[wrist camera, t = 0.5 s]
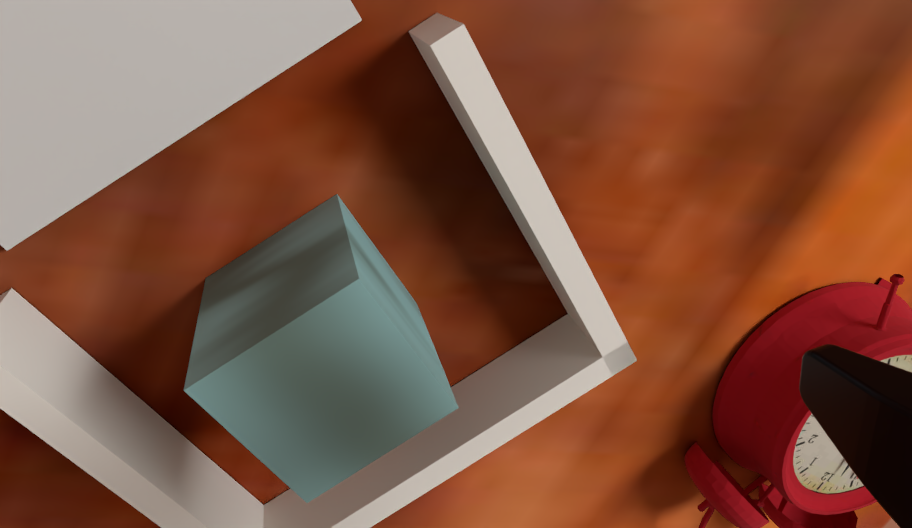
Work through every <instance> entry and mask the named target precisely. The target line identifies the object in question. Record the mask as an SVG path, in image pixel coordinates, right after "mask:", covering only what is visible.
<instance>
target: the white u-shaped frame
mask: <svg viewBox="0 0 912 528" xmlns="http://www.w3.org/2000/svg"><path fill="white" fill-rule="evenodd" d="M408 32H409V34H410V36H411V37H412V39H413V41H414V43H415V44H416V46H417V48H418V50H419V52H420V53H421V55H422V57H423V59H424V60H425V62H426V64H427V66H428V67H429V69H430V71H431V73H432V75H433V76H434V78H435V80H436V82H437V83H438V85H439V87H440V89H441V90H442V92H443V94H444V96H445V97H446V99H447V101H448V103H449V105H450V106H451V108H452V110H453V112H454V113H455V115H456V117H457V119H458V120H459V122H460V124H461V126H462V128H463V129H464V131H465V133H466V135H467V136H468V138H469V140H470V142H471V143H472V145H473V147H474V149H475V150H476V152H477V154H478V156H479V158H480V159H481V161H482V163H483V165H484V166H485V168H486V170H487V172H488V173H489V175H490V177H491V179H492V181H493V182H494V184H495V186H496V188H497V189H498V191H499V193H500V195H501V196H502V198H503V200H504V202H505V203H506V205H507V207H508V209H509V211H510V212H511V214H512V216H513V218H514V219H515V221H516V223H517V225H518V226H519V228H520V230H521V232H522V234H523V235H524V237H525V239H526V241H527V242H528V244H529V246H530V248H531V249H532V251H533V253H534V255H535V256H536V258H537V260H538V262H539V264H540V265H541V267H542V269H543V271H544V272H545V274H546V276H547V278H548V279H549V281H550V283H551V285H552V287H553V288H554V290H555V292H556V294H557V295H558V297H559V299H560V301H561V302H562V304H563V306H564V308H565V309H566V311H567V313H568V314H567V315H565V316H563V317H562V318H560V319H559V320H557V321H555V322H554V323H552V324H551V325H549V326H547V327H546V328H544V329H543V330H541V331H540V332H538V333H536V334H535V335H533V336H532V337H530V338H528V339H527V340H525V341H524V342H522V343H520V344H519V345H517V346H516V347H514V348H513V349H511V350H509V351H508V352H506V353H505V354H503V355H501V356H500V357H498V358H497V359H495V360H493V361H492V362H490V363H489V364H487V365H486V366H484V367H482V368H481V369H479V370H478V371H476V372H474V373H473V374H471V375H470V376H468V377H467V378H465V379H463V380H462V381H460V382H459V383H457V384H455V385H454V386H452V387H451V390H452V392H453V395H454V397H455V400H456V402H457V405H458V407H459V408H458V409H456V410H455V411H453V412H452V413H450V414H448V415H447V416H445V417H444V418H442V419H440V420H439V421H437V422H436V423H434V424H432V425H431V426H429V427H428V428H426V429H424V430H423V431H421V432H420V433H418V434H417V435H415V436H413V437H412V438H410V439H409V440H407V441H405V442H404V443H402V444H401V445H399V446H397V447H396V448H394V449H393V450H391V451H390V452H388V453H386V454H385V455H383V456H382V457H380V458H378V459H377V460H375V461H374V462H372V463H370V464H369V465H367V466H366V467H364V468H362V469H361V470H359V471H358V472H356V473H355V474H353V475H351V476H350V477H348V478H347V479H345V480H343V481H342V482H340V483H339V484H337V485H335V486H334V487H332V488H331V489H329V490H327V491H326V492H324V493H323V494H321V495H320V496H318V497H316V498H315V499H313V500H312V501H310V502H308V503H306V502H305V501H304V500H303V499H302V498H301V497H300V496H298V495H297V494H296V493H295V492H294V491H293V490H292V489H291V488H290V489H289V490H287V491H285V492H284V493H282V494H281V495H279V496H278V497H276V498H274V499H273V500H271V501H270V502H268V503H266V504H265V505H263V504H262V503H261V502H259V501H258V500H257V499H256V498H255V497H254V496H252V495H251V494H250V493H249V492H248V491H247V490H245V489H244V488H243V487H242V486H241V485H240V484H239V483H237V482H236V481H235V480H234V479H233V478H232V477H230V476H229V475H228V474H227V473H226V472H225V471H223V470H222V469H221V468H220V467H219V466H218V465H216V464H215V463H214V462H213V461H212V460H211V459H210V458H208V457H207V456H206V455H205V454H204V453H203V452H201V451H200V450H199V449H198V448H197V447H196V446H194V445H193V444H192V443H191V442H190V441H189V440H187V439H186V438H185V437H184V436H183V435H182V434H181V433H179V432H178V431H177V430H176V429H175V428H174V427H172V426H171V425H170V424H169V423H168V422H167V421H165V420H164V419H163V418H162V417H161V416H160V415H158V414H157V413H156V412H155V411H154V410H153V409H152V408H150V407H149V406H148V405H147V404H146V403H145V402H143V401H142V400H141V399H140V398H139V397H138V396H136V395H135V394H134V393H133V392H132V391H131V390H129V389H128V388H127V387H126V386H125V385H124V384H123V383H121V382H120V381H119V380H118V379H117V378H116V377H114V376H113V375H112V374H111V373H110V372H109V371H107V370H106V369H105V368H104V367H103V366H102V365H100V364H99V363H98V362H97V361H96V360H95V359H93V358H92V357H91V356H90V355H89V354H88V353H87V352H85V351H84V350H83V349H82V348H81V347H80V346H78V345H77V344H76V343H75V342H74V341H73V340H71V339H70V338H69V337H68V336H67V335H66V334H64V333H63V332H62V331H61V330H60V329H59V328H58V327H56V326H55V325H54V324H53V323H52V322H51V321H49V320H48V319H47V318H46V317H45V316H44V315H42V314H41V313H40V312H39V311H38V310H37V309H35V308H34V307H33V306H32V305H31V304H30V303H29V302H27V301H26V300H25V299H24V298H23V297H22V296H20V295H19V294H18V293H17V292H16V291H15V290H13V289H12V288H11V289H9V290H8V291H6V292H5V293H3V294H2V295H0V409H2V410H3V411H4V412H6V413H7V414H8V415H10V416H11V417H12V418H14V419H15V420H17V421H18V422H19V423H21V424H22V425H23V426H25V427H26V428H27V429H29V430H30V431H31V432H33V433H34V434H35V435H37V436H38V437H39V438H41V439H42V440H44V441H45V442H46V443H48V444H49V445H50V446H52V447H53V448H54V449H56V450H57V451H58V452H60V453H61V454H62V455H64V456H65V457H67V458H68V459H69V460H71V461H72V462H73V463H75V464H76V465H77V466H79V467H80V468H81V469H83V470H84V471H85V472H87V473H88V474H89V475H91V476H92V477H94V478H95V479H96V480H98V481H99V482H100V483H102V484H103V485H104V486H106V487H107V488H108V489H110V490H111V491H112V492H114V493H115V494H116V495H118V496H119V497H121V498H122V499H123V500H125V501H126V502H127V503H129V504H130V505H131V506H133V507H134V508H135V509H137V510H138V511H139V512H141V513H142V514H144V515H145V516H146V517H148V518H149V519H150V520H152V521H153V522H154V523H156V524H157V525H158V526H160V527H161V528H370V527H372V526H373V525H375V524H377V523H378V522H380V521H381V520H383V519H385V518H386V517H388V516H389V515H391V514H393V513H394V512H396V511H397V510H399V509H401V508H402V507H404V506H405V505H407V504H409V503H410V502H412V501H413V500H415V499H417V498H418V497H420V496H421V495H423V494H425V493H426V492H428V491H429V490H431V489H433V488H434V487H436V486H437V485H439V484H441V483H442V482H444V481H445V480H447V479H449V478H450V477H452V476H453V475H455V474H457V473H458V472H460V471H461V470H463V469H465V468H466V467H468V466H469V465H471V464H473V463H474V462H476V461H477V460H479V459H481V458H482V457H484V456H485V455H487V454H489V453H490V452H492V451H493V450H495V449H497V448H498V447H500V446H501V445H503V444H505V443H506V442H508V441H509V440H511V439H513V438H514V437H516V436H517V435H519V434H521V433H522V432H524V431H525V430H527V429H529V428H530V427H532V426H533V425H535V424H536V423H538V422H540V421H541V420H543V419H544V418H546V417H548V416H549V415H551V414H552V413H554V412H556V411H557V410H559V409H560V408H562V407H564V406H565V405H567V404H568V403H570V402H572V401H573V400H575V399H576V398H578V397H580V396H581V395H583V394H584V393H586V392H588V391H589V390H591V389H592V388H594V387H596V386H597V385H599V384H600V383H602V382H604V381H605V380H607V379H608V378H610V377H612V376H613V375H615V374H616V373H618V372H620V371H621V370H623V369H624V368H626V367H628V366H629V365H631V364H632V363H634V362H636V361H637V359H636V357H635V356H634V354H633V352H632V350H631V348H630V346H629V344H628V342H627V340H626V338H625V336H624V334H623V332H622V330H621V328H620V326H619V324H618V323H617V321H616V319H615V317H614V315H613V313H612V311H611V309H610V307H609V305H608V303H607V301H606V299H605V297H604V295H603V293H602V291H601V290H600V288H599V286H598V284H597V282H596V280H595V278H594V276H593V274H592V272H591V270H590V268H589V266H588V264H587V262H586V260H585V258H584V257H583V255H582V253H581V251H580V249H579V247H578V245H577V243H576V241H575V239H574V237H573V235H572V233H571V231H570V229H569V227H568V225H567V224H566V222H565V220H564V218H563V216H562V214H561V212H560V210H559V208H558V206H557V204H556V202H555V200H554V198H553V196H552V194H551V192H550V190H549V189H548V187H547V185H546V183H545V181H544V179H543V177H542V175H541V173H540V171H539V169H538V167H537V165H536V163H535V161H534V159H533V157H532V156H531V154H530V152H529V150H528V148H527V146H526V144H525V142H524V140H523V138H522V136H521V134H520V132H519V130H518V128H517V126H516V124H515V123H514V121H513V119H512V117H511V115H510V113H509V111H508V109H507V107H506V105H505V103H504V101H503V99H502V97H501V95H500V93H499V91H498V90H497V88H496V86H495V84H494V82H493V80H492V78H491V76H490V74H489V72H488V70H487V68H486V66H485V64H484V62H483V60H482V58H481V57H480V55H479V53H478V51H477V49H476V47H475V45H474V43H473V41H472V39H471V37H470V35H469V33H468V31H467V29H466V27H465V25H464V24H463V23H460V22H458V21H456V20H453V19H451V18H448V17H446V16H444V15H441V14H439V13H436V14H434V15H433V16H431V17H430V18H428V19H427V20H425V21H423V22H422V23H420V24H419V25H417V26H416V27H414V28H413V29H411V30H410V31H408Z"/></svg>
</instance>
